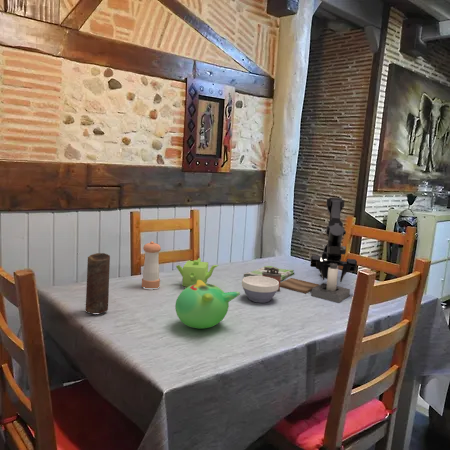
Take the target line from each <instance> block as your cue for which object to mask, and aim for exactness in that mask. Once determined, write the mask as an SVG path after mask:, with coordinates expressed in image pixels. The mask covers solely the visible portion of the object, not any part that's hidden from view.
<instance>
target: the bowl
mask: <svg viewBox="0 0 450 450" xmlns="http://www.w3.org/2000/svg"><path fill="white" fill-rule="evenodd" d="M241 287H242V290H243V291H244V294H245V295H246V297H247V298H248V300H249V301H251V302H253V303H259V304H263V303H269V302H271V300H272V299H273V298H274V296H275V295H276V293H278V292H277V290H278V288H279V282H278V281H277V280H275V279H273V278H269V277H264V276H248V277H243V278H242V280H241Z"/></svg>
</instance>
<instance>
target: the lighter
mask: <svg viewBox="0 0 450 450" xmlns="http://www.w3.org/2000/svg"><path fill="white" fill-rule="evenodd" d="M263 267H264V266H263ZM274 267H275V266H273V267H272V268H270V267H264V270H267V272H262V276H264V277H269V278H273V279H275V280H277V281H278V282H279V288H278V290H277V292H276V293H279V292H281V287H280V282H281V281H280V279H281V273H278V272H279V269H280V268H279V267H278V268H277V267H276V268H274ZM269 271H270V272H269ZM275 271H276V272H275Z"/></svg>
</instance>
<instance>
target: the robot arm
mask: <svg viewBox="0 0 450 450" xmlns="http://www.w3.org/2000/svg"><path fill="white" fill-rule="evenodd" d="M345 203H346V202H345V200H344V199H342V197H331V196H330V197H329V198H326V205H325V206H326V208H327V209H326V210H327V213H328V215H329V221H328V223H327V226H326V229H325V235H327V243H326V245H325V246H324V248H323V251H322V252H321V255H316V254H312V255H311V257H310V267H312V268H315V269H316V270H318V271H319V273H320V275H319V276H320V277H321V278H322V281H325V278H327V276H328V267H330V263H337V267H339V266H340V267H342V268H341V273H340V274H341V275H340V279H339V281H340V283H342V281H343V280H344V277H345V275H346V273H349V272H356V270H357V267H358V266H357V265H358V261H357V260H356V258H355V259H354V258H347V259H346V261H343V260H342V255H346V254H347V253H346V252H347V251H346V250H347V246H344V245H342V241H343V237H344V236H345V235H346V233H347V232H346V230H345V227H344V225H343V222H342V221H341V213H342V210H343V209H344V207H345Z"/></svg>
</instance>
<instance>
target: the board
mask: <svg viewBox="0 0 450 450" xmlns="http://www.w3.org/2000/svg"><path fill="white" fill-rule="evenodd" d="M318 285H320V283H315V282H310V281H306V280H302V279H298V278H294V277H289V278H286V279H284V280H282V281H280V288H281V289H285V290H286V289H287V290H290V291H293V292H297V293H302V294H308V293H309V292H312V288H314V287H316V286H318Z"/></svg>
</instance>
